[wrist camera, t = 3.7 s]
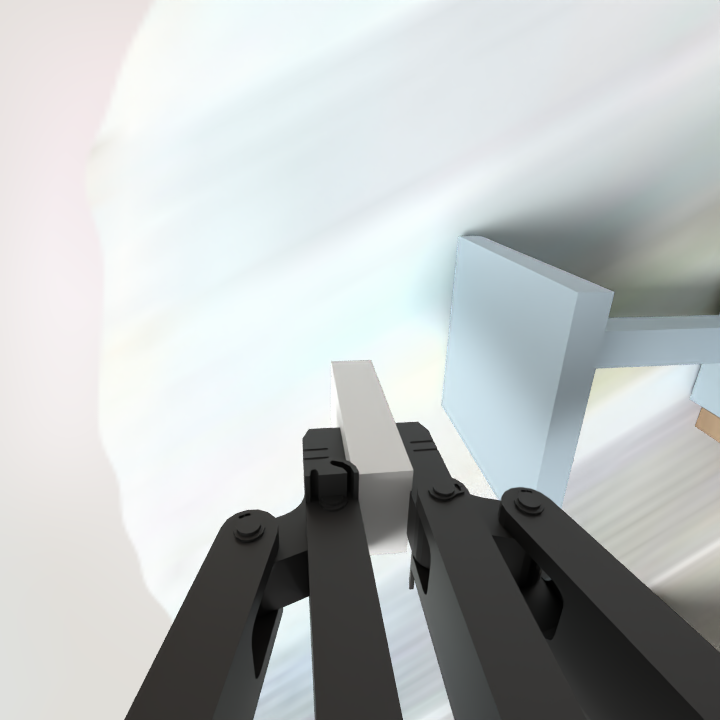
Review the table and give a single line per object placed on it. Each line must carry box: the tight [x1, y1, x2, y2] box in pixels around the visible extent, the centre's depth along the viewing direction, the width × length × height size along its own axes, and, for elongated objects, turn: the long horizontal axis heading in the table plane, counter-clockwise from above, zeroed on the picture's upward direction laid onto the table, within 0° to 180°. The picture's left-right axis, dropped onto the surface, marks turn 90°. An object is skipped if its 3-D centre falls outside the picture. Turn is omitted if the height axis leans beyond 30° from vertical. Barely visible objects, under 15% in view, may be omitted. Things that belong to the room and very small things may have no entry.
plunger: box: [441, 236, 720, 508], centre depth 22 cm, size 18×11×11 cm, turn 89°
